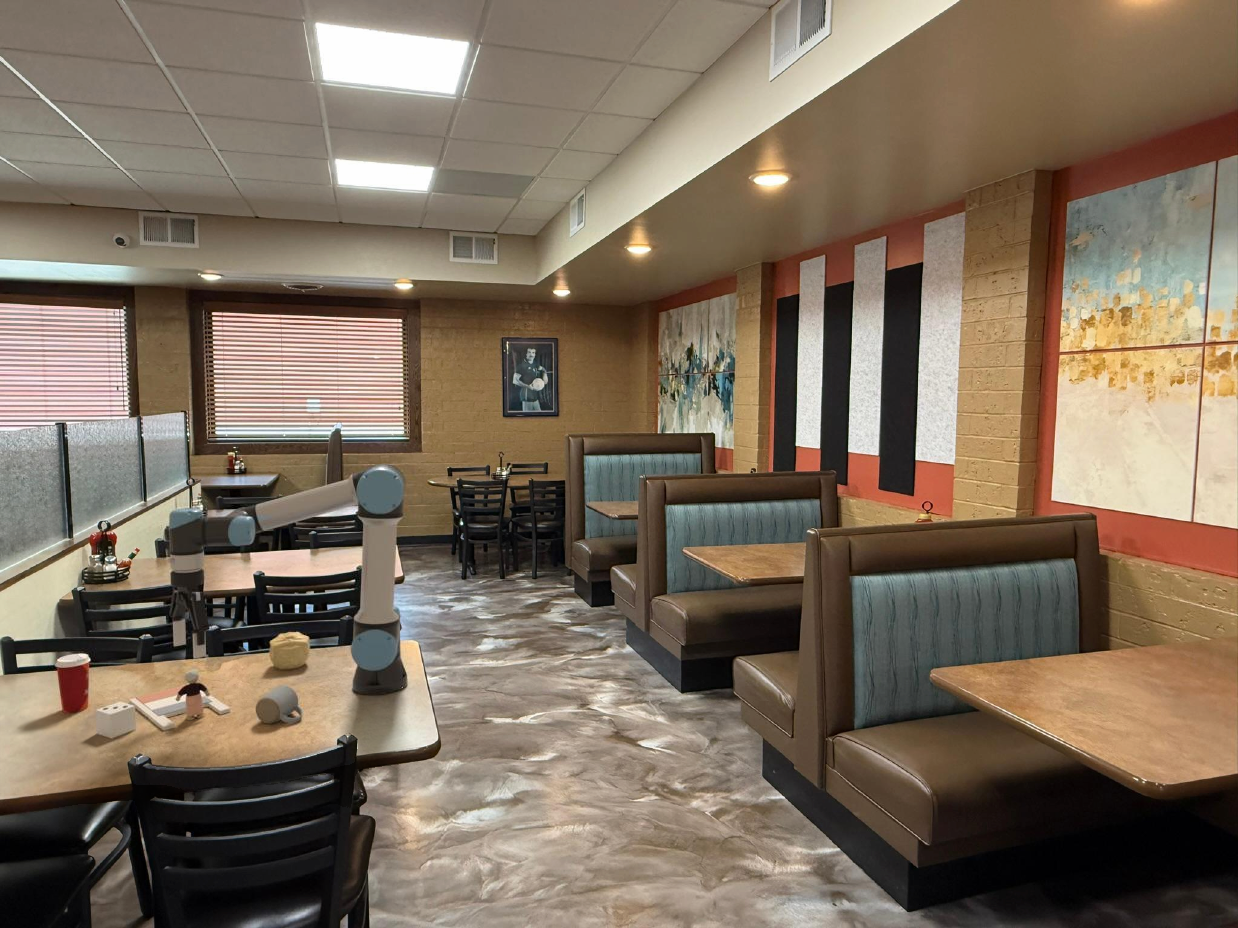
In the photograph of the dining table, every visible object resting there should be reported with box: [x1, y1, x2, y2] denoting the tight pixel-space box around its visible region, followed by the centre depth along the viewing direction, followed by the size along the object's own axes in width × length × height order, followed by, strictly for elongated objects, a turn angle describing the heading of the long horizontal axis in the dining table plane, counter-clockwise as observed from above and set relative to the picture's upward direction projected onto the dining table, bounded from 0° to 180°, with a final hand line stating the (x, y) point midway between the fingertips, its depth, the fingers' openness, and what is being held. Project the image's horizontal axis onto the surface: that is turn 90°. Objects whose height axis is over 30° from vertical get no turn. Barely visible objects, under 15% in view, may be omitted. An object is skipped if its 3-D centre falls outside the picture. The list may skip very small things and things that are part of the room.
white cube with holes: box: [95, 701, 137, 739], centre depth 194 cm, size 6×6×6 cm
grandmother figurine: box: [176, 669, 211, 721], centre depth 202 cm, size 8×4×13 cm, turn 135°
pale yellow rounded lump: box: [269, 631, 311, 670], centre depth 241 cm, size 12×12×11 cm
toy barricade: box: [129, 684, 231, 731], centre depth 209 cm, size 26×16×1 cm, turn 48°
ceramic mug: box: [255, 684, 304, 725], centre depth 201 cm, size 11×8×8 cm
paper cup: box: [54, 653, 91, 714], centre depth 207 cm, size 8×8×14 cm
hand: (189, 650), depth 201 cm, fingers open, 13 cm apart
